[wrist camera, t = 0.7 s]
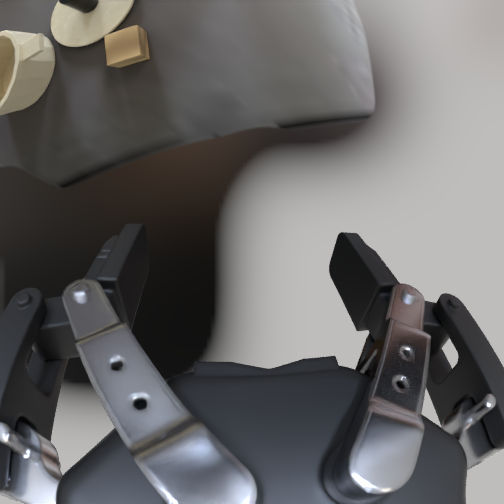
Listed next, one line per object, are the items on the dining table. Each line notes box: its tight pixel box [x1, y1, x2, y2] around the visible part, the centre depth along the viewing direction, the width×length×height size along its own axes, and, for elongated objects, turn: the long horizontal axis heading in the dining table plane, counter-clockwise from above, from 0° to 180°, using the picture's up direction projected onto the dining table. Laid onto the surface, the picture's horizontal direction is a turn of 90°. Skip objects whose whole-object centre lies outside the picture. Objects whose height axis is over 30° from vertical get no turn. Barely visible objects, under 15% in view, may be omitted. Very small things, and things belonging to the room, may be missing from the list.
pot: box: [0, 30, 55, 115], centre depth 17 cm, size 11×17×8 cm
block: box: [104, 25, 150, 68], centre depth 22 cm, size 4×4×4 cm
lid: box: [51, 0, 134, 47], centre depth 15 cm, size 12×12×7 cm
